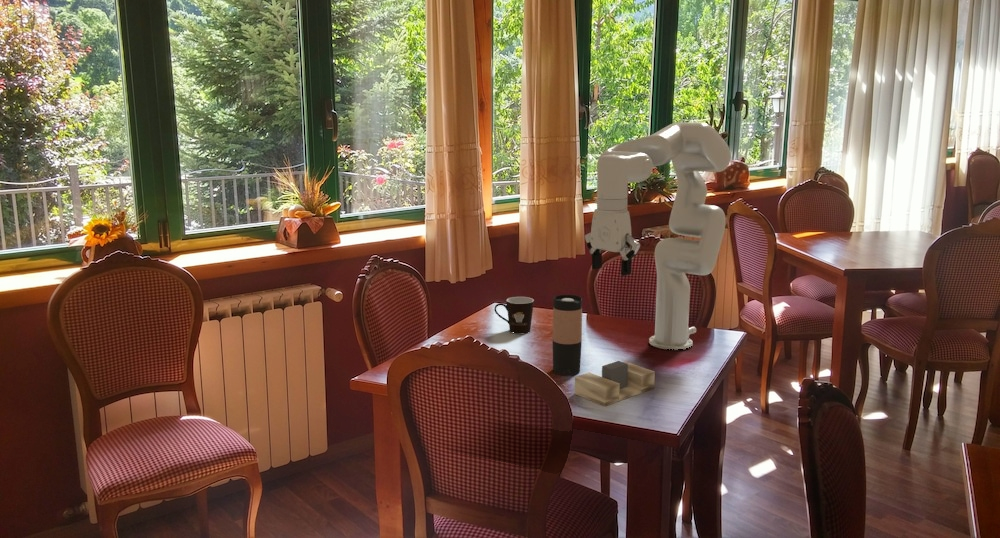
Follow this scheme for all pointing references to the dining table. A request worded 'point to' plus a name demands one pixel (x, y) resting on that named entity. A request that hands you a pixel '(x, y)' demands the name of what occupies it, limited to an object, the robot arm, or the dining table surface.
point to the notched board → (614, 385)
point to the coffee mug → (518, 313)
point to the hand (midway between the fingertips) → (611, 271)
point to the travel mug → (567, 334)
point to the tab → (616, 373)
